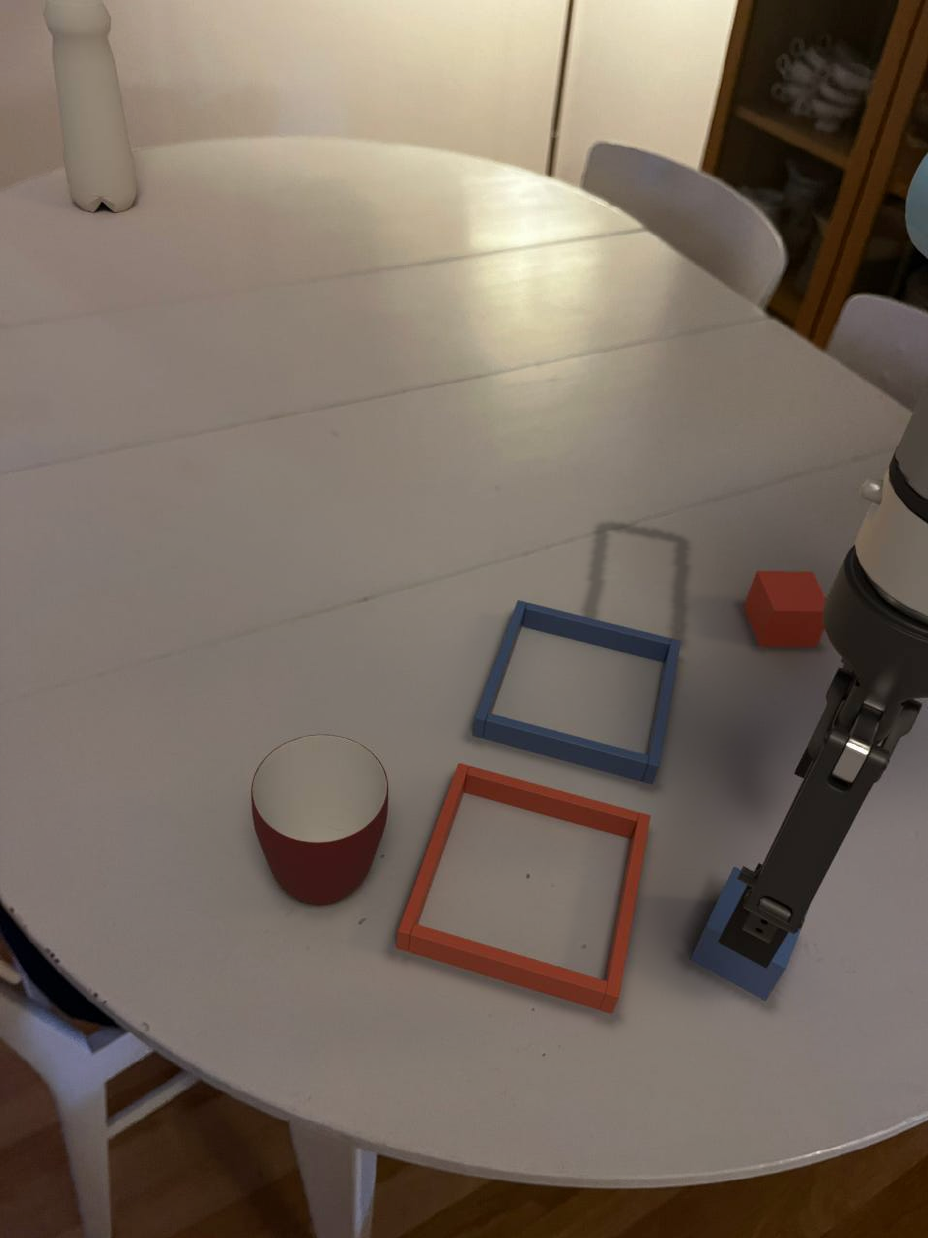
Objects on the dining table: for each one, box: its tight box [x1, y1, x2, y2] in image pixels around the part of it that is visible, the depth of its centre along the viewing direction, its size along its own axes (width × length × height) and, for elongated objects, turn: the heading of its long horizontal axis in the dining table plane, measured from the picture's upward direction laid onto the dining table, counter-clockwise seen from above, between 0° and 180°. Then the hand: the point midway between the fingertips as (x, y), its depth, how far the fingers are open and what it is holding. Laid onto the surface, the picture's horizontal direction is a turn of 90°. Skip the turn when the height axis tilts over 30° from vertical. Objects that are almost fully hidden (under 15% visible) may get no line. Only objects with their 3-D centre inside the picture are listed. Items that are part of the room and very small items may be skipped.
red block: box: [743, 570, 827, 648], centre depth 86 cm, size 5×5×5 cm
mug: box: [250, 734, 389, 906], centre depth 64 cm, size 10×8×10 cm
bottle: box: [42, 0, 138, 213], centre depth 130 cm, size 9×9×30 cm
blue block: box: [689, 866, 811, 1002], centre depth 64 cm, size 5×5×5 cm
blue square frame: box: [472, 599, 682, 786], centre depth 79 cm, size 14×14×3 cm
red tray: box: [395, 762, 651, 1015], centre depth 66 cm, size 14×14×3 cm
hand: (783, 859), depth 58 cm, fingers open, 13 cm apart
